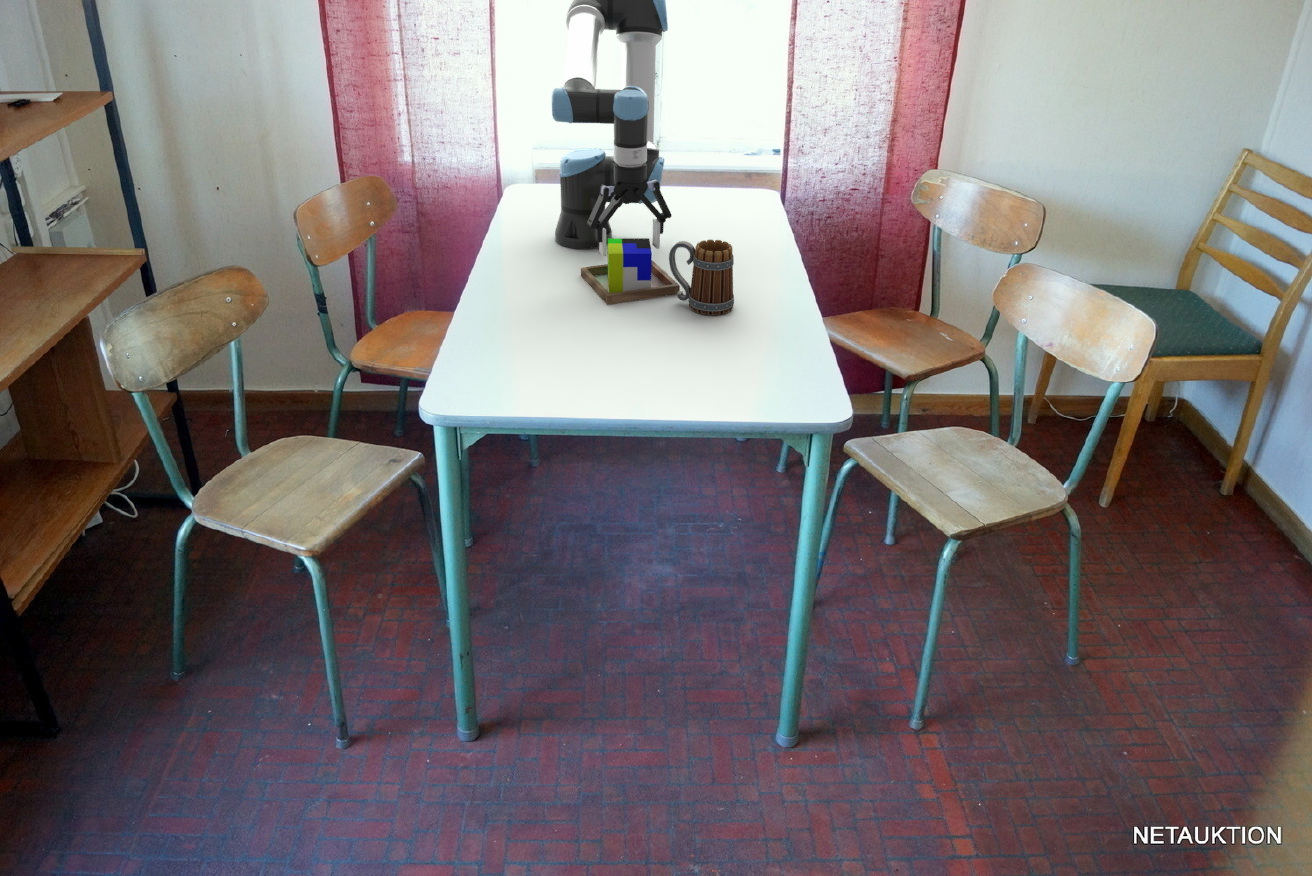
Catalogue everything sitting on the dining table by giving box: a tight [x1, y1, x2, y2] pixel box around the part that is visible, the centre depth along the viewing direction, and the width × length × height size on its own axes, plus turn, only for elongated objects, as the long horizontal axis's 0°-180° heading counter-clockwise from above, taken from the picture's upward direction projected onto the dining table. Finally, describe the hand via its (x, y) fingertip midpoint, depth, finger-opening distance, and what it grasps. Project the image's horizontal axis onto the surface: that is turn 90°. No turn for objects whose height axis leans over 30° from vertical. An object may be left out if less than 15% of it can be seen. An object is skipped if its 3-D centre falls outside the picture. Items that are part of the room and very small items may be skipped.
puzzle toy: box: [607, 237, 653, 293], centre depth 244 cm, size 10×10×10 cm
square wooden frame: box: [580, 260, 681, 306], centre depth 246 cm, size 18×18×2 cm
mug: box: [668, 239, 735, 317], centre depth 233 cm, size 16×11×15 cm
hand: (629, 250), depth 243 cm, fingers open, 13 cm apart
